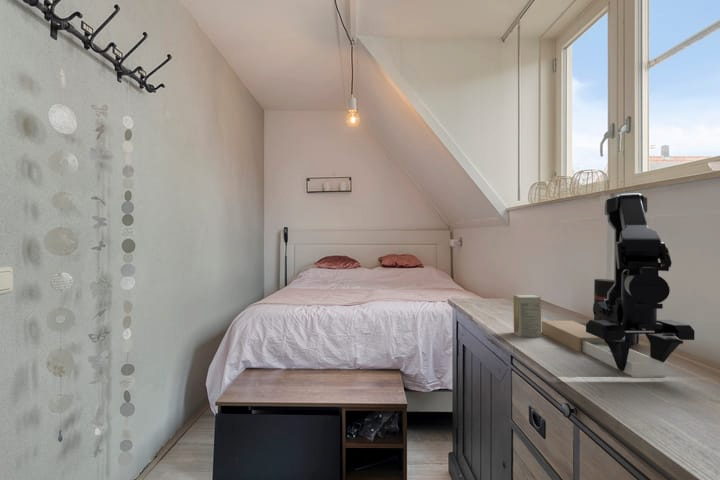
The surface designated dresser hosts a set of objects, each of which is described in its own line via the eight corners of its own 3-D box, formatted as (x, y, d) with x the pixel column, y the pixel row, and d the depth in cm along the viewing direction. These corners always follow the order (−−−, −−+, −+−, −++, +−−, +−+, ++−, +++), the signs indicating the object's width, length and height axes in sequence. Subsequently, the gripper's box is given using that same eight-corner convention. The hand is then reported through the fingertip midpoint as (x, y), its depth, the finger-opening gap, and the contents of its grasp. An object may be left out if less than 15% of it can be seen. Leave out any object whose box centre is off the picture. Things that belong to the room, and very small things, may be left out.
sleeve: (571, 335, 96) (571, 320, 96) (615, 355, 80) (615, 337, 80) (541, 335, 96) (541, 320, 96) (579, 355, 80) (579, 337, 80)
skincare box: (535, 335, 96) (535, 294, 96) (541, 340, 91) (542, 297, 91) (512, 335, 96) (512, 294, 96) (518, 339, 92) (518, 296, 92)
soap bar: (601, 350, 81) (601, 343, 81) (617, 358, 76) (617, 350, 76) (589, 350, 81) (589, 343, 81) (605, 358, 76) (605, 350, 76)
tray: (604, 350, 82) (604, 338, 82) (664, 377, 66) (664, 363, 66) (577, 350, 82) (577, 338, 82) (631, 377, 66) (631, 363, 66)
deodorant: (600, 327, 105) (600, 281, 105) (590, 322, 111) (590, 278, 111) (620, 328, 104) (621, 281, 104) (609, 323, 110) (610, 279, 110)
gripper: (647, 289, 77) (647, 355, 77) (569, 289, 76) (568, 356, 76) (697, 299, 65) (696, 376, 66) (606, 299, 65) (605, 376, 65)
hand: (637, 370), depth 69 cm, fingers closed on tray, 7 cm apart
